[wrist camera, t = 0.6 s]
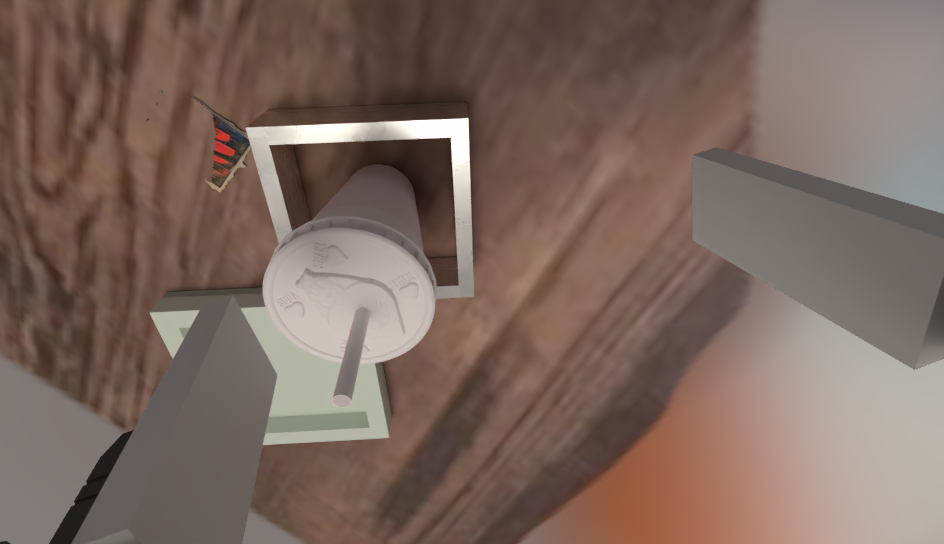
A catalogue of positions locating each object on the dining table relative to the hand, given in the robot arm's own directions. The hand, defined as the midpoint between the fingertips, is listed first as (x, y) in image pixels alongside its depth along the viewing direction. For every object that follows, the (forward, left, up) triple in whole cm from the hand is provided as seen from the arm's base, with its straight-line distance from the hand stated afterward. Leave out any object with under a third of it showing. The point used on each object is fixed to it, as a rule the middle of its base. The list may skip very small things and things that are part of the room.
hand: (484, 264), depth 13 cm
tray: (+15, -12, -13) cm, 23 cm away
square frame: (+3, -5, -13) cm, 14 cm away
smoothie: (+3, -5, -13) cm, 14 cm away
